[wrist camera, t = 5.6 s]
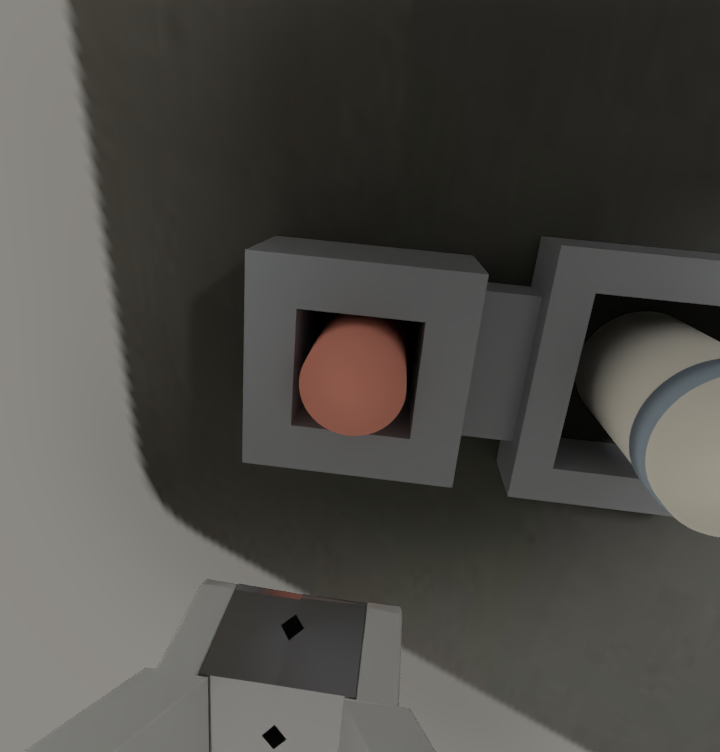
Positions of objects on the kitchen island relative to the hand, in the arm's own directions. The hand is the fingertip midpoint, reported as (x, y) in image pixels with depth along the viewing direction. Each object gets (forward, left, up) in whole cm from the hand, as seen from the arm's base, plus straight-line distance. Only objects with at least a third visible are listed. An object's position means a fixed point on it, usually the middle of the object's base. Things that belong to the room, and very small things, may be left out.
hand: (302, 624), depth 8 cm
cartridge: (-11, 0, -16) cm, 20 cm away
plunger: (0, 0, -15) cm, 15 cm away
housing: (-6, 0, -16) cm, 17 cm away
